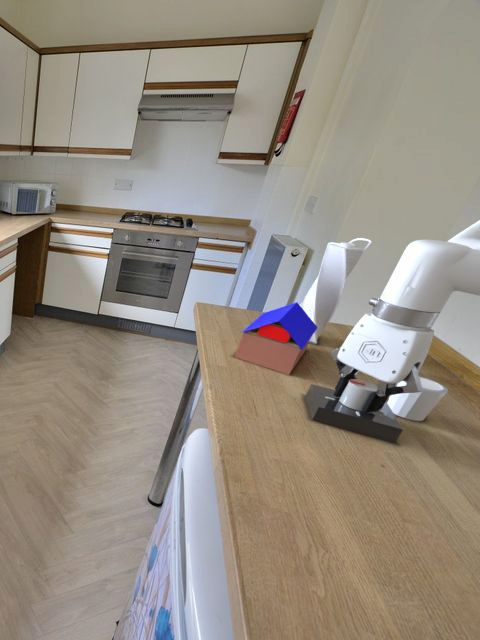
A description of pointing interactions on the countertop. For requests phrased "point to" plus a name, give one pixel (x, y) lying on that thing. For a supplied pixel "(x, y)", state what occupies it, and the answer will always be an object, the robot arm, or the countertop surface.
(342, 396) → the hob knob
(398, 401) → the shot glass
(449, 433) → the countertop surface
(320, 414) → the hob panel
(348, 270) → the skyscraper
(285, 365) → the house
